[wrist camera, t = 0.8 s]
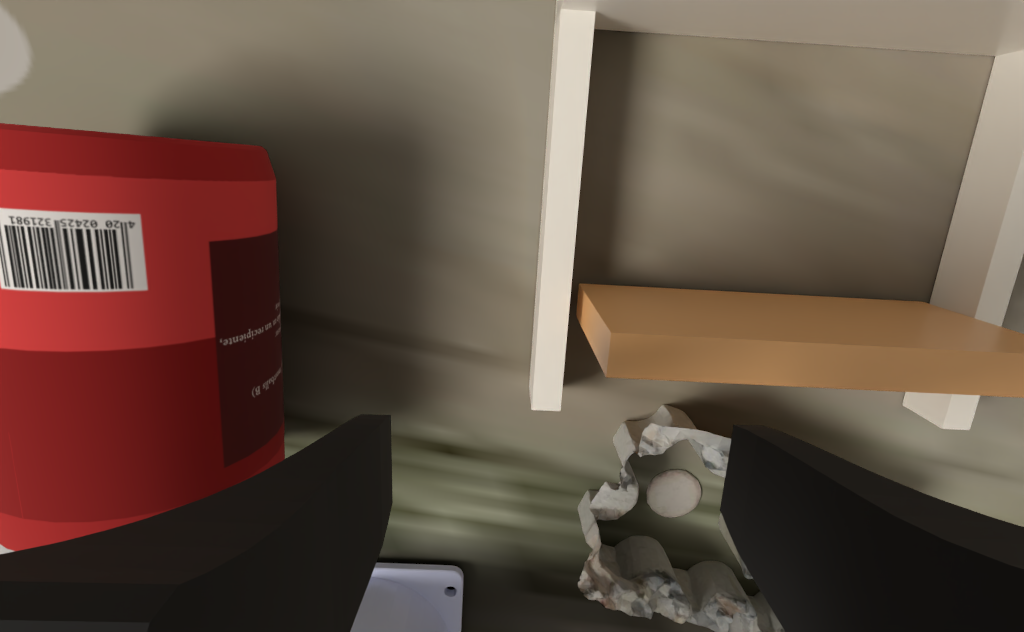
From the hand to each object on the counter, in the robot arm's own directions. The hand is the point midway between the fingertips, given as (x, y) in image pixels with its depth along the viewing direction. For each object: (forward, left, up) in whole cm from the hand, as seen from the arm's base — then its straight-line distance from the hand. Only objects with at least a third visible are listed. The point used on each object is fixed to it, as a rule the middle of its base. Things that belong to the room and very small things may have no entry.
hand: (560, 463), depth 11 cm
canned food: (+6, +12, -5) cm, 15 cm away
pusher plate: (+1, -8, -9) cm, 12 cm away
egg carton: (-7, -8, -10) cm, 14 cm away
